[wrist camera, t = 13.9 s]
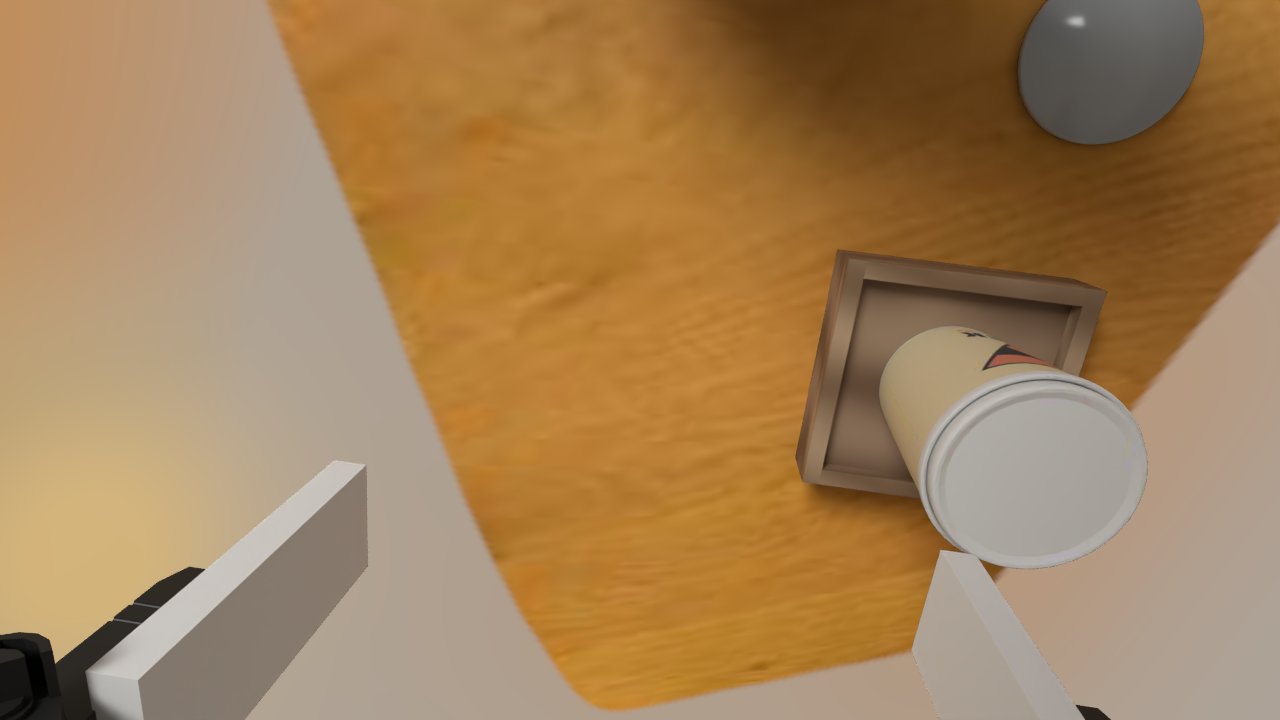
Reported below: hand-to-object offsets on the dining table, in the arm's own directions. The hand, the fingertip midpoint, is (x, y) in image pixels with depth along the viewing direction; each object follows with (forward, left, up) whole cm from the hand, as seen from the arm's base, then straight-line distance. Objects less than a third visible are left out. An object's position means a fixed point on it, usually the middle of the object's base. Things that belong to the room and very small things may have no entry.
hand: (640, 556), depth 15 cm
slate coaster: (-16, +21, -29) cm, 39 cm away
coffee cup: (+3, +16, -26) cm, 31 cm away
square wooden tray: (+3, +16, -29) cm, 33 cm away
